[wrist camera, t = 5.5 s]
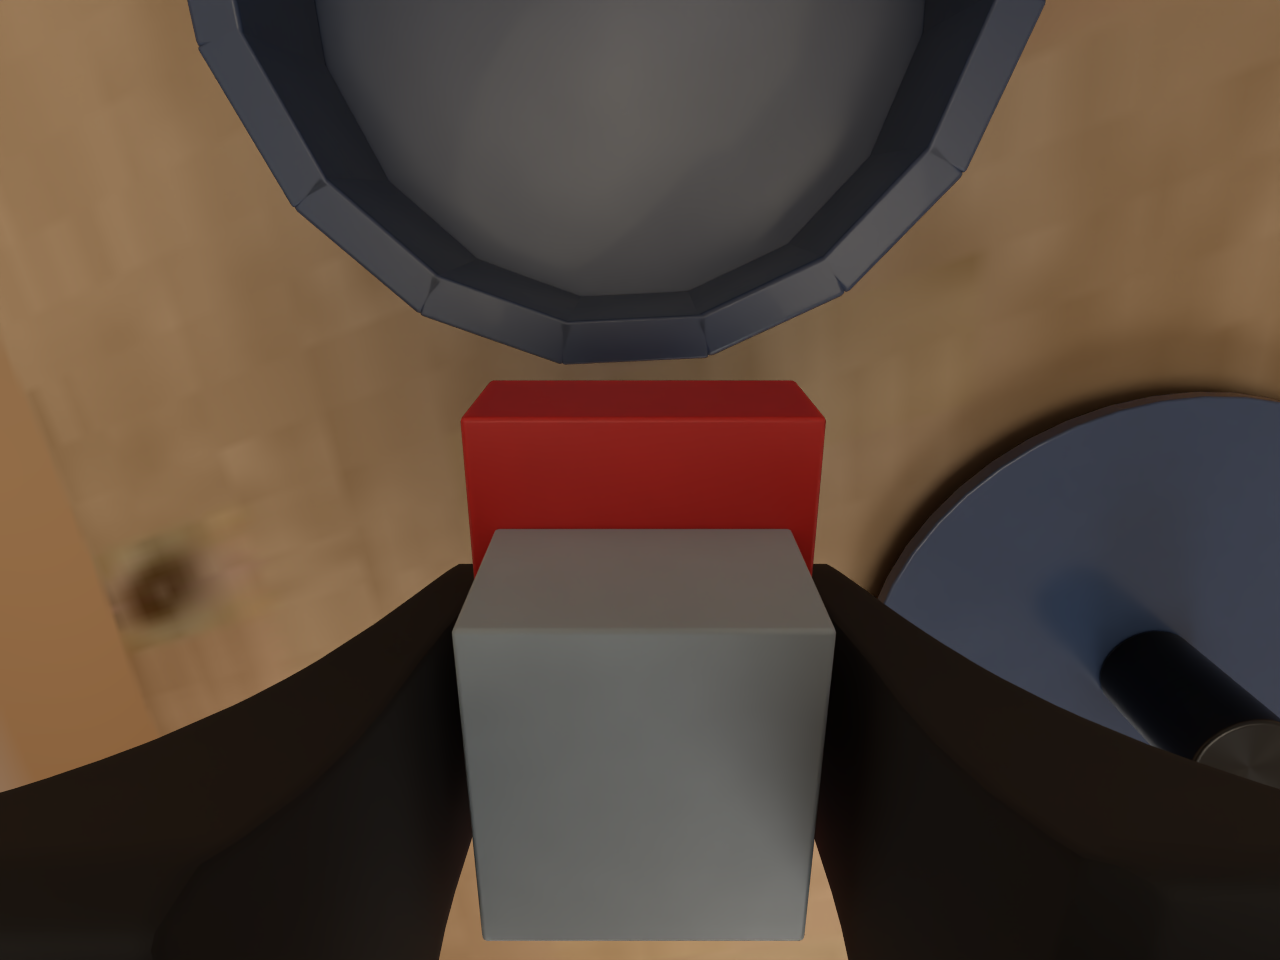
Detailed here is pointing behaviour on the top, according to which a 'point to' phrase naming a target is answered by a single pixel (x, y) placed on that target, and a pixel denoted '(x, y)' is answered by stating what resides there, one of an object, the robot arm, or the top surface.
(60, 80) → the top surface
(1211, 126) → the top surface
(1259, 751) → the lid
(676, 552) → the toy car
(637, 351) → the pot
